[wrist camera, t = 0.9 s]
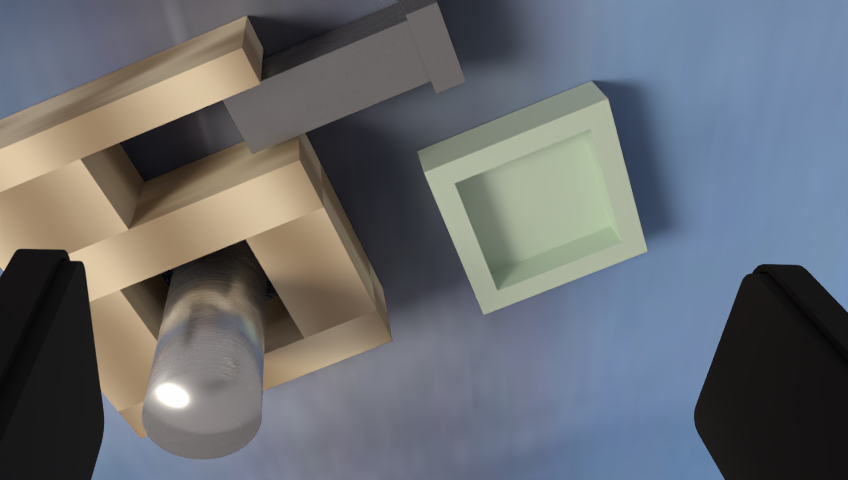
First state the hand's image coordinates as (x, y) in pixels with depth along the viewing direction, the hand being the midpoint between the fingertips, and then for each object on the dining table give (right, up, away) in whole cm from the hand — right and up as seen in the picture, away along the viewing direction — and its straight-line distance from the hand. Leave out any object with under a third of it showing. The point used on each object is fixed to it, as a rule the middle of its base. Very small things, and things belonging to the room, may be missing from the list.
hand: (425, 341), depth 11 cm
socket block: (-10, +2, +23) cm, 26 cm away
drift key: (-3, +9, +21) cm, 23 cm away
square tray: (+5, +4, +25) cm, 26 cm away
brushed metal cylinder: (-9, 0, +25) cm, 26 cm away
